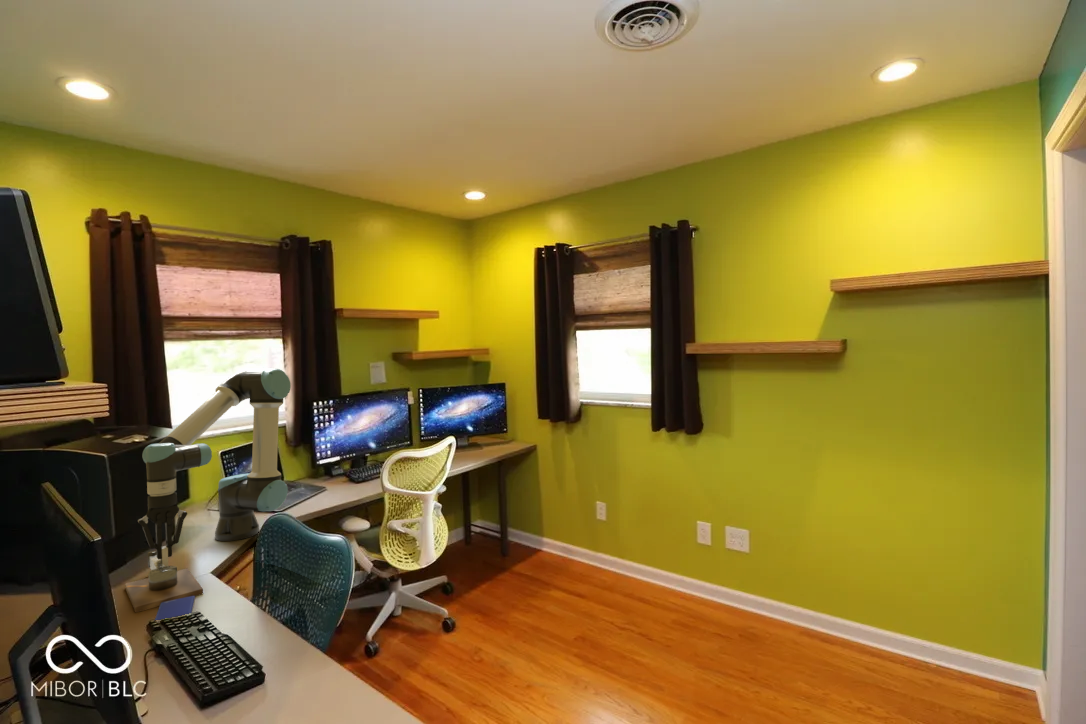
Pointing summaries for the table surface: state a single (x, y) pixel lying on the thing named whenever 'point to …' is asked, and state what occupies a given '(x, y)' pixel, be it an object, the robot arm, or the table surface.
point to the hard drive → (175, 608)
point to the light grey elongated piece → (160, 573)
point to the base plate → (162, 591)
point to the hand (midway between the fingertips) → (164, 567)
